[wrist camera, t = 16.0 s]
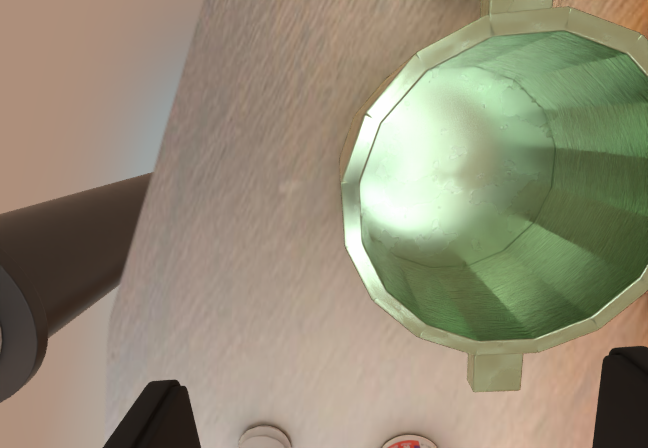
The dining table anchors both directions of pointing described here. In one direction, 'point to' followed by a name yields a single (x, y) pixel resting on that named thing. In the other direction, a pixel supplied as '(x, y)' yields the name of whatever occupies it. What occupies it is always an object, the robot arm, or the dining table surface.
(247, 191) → the dining table surface
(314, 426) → the dining table surface
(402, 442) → the pill bottle
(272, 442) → the rook chess piece
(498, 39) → the pot
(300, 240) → the dining table surface
